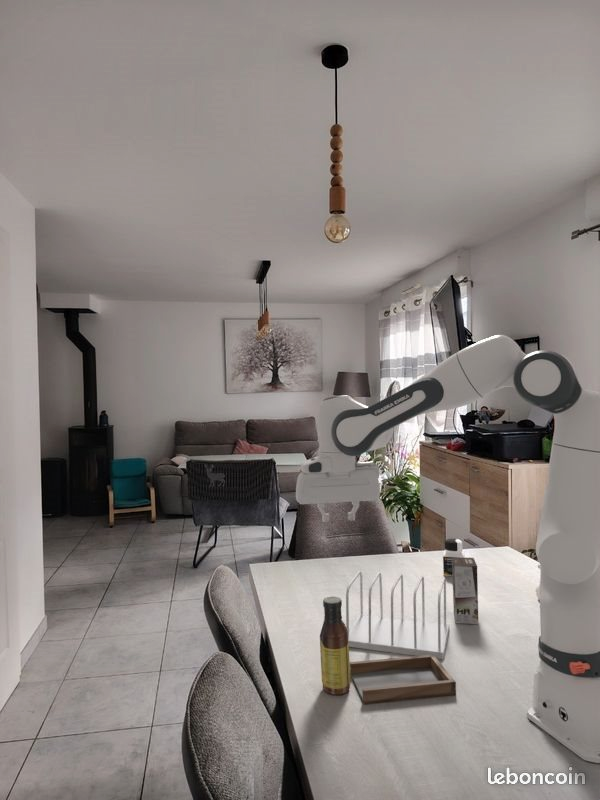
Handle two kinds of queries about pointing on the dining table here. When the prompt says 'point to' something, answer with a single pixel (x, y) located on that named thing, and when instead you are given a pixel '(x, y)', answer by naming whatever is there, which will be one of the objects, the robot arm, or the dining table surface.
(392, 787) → the dining table surface
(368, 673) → the wooden tray
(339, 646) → the sauce bottle
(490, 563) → the dining table surface
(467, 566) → the coffee box
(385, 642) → the file sorter
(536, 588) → the seated beast figurine
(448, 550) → the white plastic bottle
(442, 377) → the robot arm
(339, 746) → the dining table surface
